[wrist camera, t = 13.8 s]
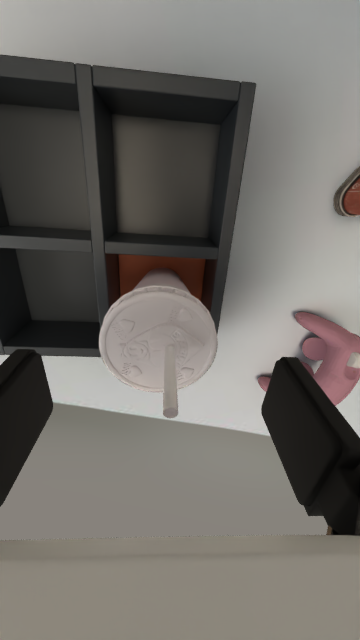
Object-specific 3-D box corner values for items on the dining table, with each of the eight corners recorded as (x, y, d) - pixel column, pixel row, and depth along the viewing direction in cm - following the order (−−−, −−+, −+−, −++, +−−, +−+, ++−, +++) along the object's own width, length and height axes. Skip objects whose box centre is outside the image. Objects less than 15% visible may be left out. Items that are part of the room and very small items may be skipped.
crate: (232, 113, 17) (256, 82, 12) (204, 329, 24) (213, 360, 20) (-30, 87, 15) (-112, 41, 11) (28, 324, 23) (-6, 354, 19)
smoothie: (198, 318, 23) (236, 461, 10) (130, 322, 23) (87, 473, 10) (197, 248, 20) (248, 332, 7) (119, 253, 20) (40, 346, 7)
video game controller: (275, 378, 30) (327, 425, 25) (251, 383, 27) (303, 436, 22) (319, 308, 26) (391, 347, 21) (295, 306, 23) (371, 350, 18)
